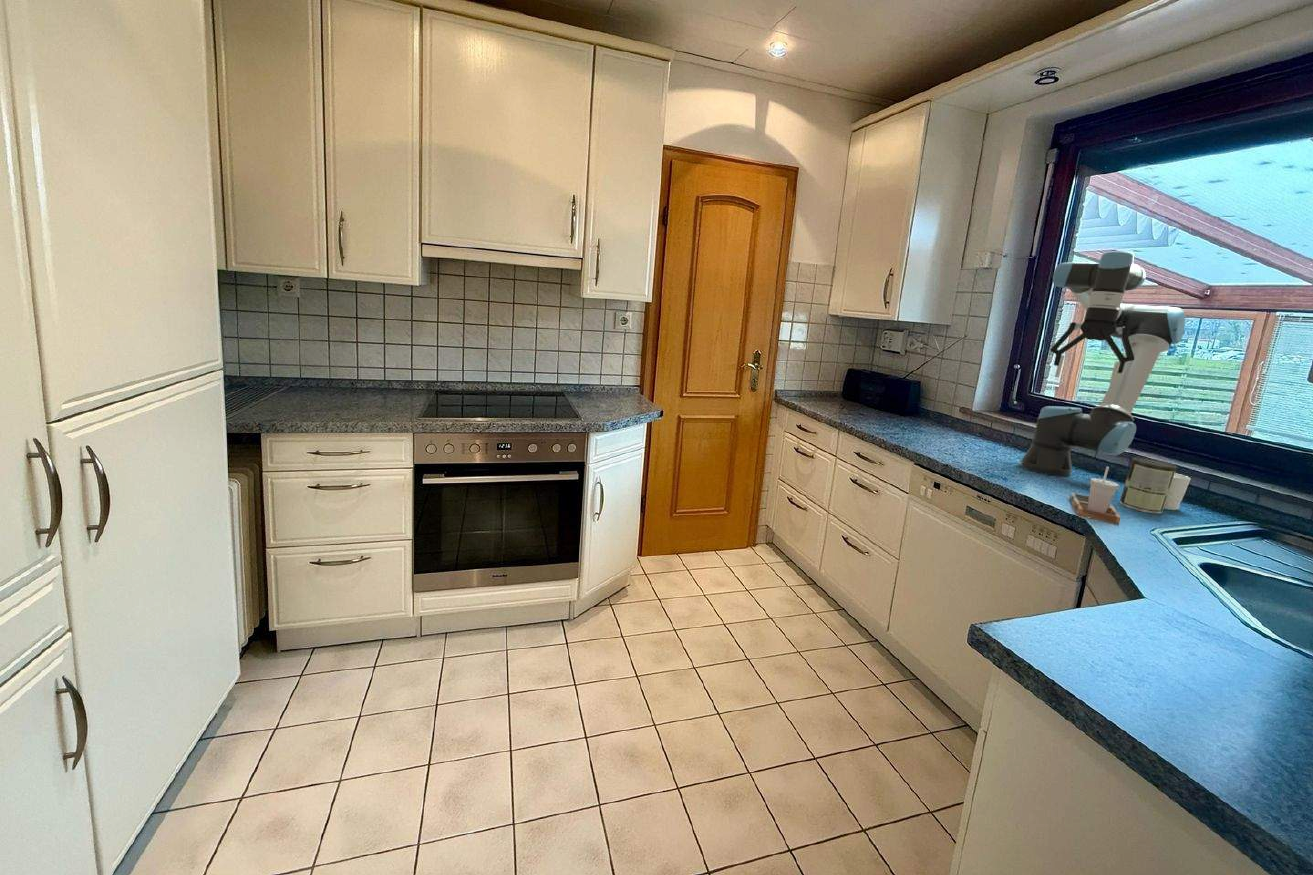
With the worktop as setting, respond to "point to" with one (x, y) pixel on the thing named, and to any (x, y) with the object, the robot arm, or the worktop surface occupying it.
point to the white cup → (1176, 491)
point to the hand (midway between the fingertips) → (1083, 380)
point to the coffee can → (1147, 485)
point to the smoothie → (1101, 493)
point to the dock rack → (1081, 509)
